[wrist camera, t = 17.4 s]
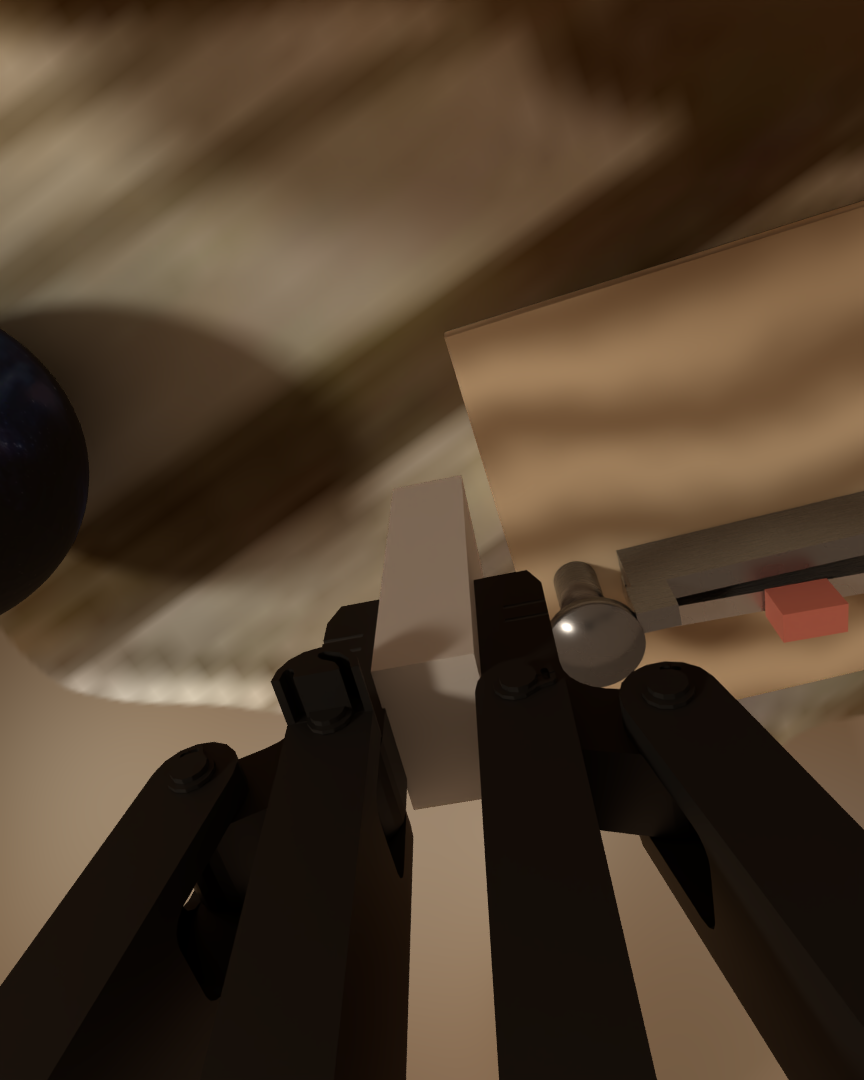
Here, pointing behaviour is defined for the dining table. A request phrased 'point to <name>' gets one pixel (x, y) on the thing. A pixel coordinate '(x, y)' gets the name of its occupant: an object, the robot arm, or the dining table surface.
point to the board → (681, 422)
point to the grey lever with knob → (698, 579)
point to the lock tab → (806, 610)
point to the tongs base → (722, 602)
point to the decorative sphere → (36, 473)
